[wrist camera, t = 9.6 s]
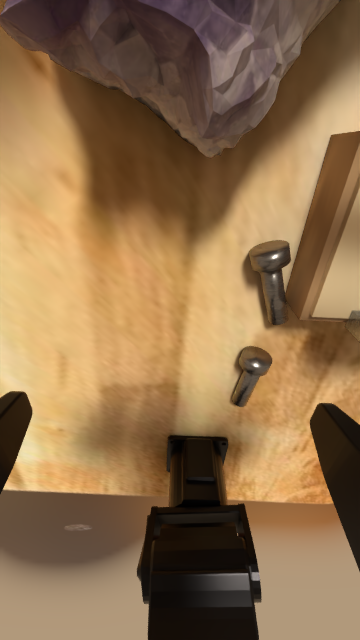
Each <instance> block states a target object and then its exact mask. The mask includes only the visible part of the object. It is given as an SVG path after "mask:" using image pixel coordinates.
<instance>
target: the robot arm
mask: <svg viewBox="0 0 360 640" xmlns="http://www.w3.org/2000/svg"><path fill="white" fill-rule="evenodd" d="M31 417H32V407H31V405H30V402H29V399H28V397H27V394H26V393H25V392H21V391H11V392H9V393H7V394H5V395H4V396H2V397H1V398H0V494H1V492H2V490H3V488H4V486H5V483H6V481H7V479H8V477H9V475H10V473H11V471H12V469H13V466H14V464H15V461H16V459H17V456H18V453H19V450H20V448H21V445H22V442H23V439H24V437H25V434H26V431H27V428H28V426H29V423H30V420H31ZM310 428H311V432H312V435H313V439H314V443H315V446H316V450H317V454H318V457H319V461H320V465H321V469H322V472H323V475H324V478H325V481H326V484H327V487H328V489H329V492H330V495H331V497H332V500H333V502H334V505H335V508H336V510H337V513H338V516H339V518H340V521H341V523H342V526H343V529H344V531H345V534H346V537H347V539H348V542H349V544H350V547H351V550H352V552H353V555H354V558H355V560H356V563H357V565H358V568H359V571H360V425H359V424H358V423H357V422H355V421H354V420H353V419H352V418H351V417H349V416H348V415H347V414H346V413H344V412H343V411H342V410H341V409H339V408H338V407H337V406H336V405H334V404H331V403H319V404H318V405H317V407H316V409H315V411H314V413H313V415H312V417H311V419H310ZM227 448H228V439H227V438H220V437H193V436H169V437H168V447H167V472H170V488H169V507H157V506H154V507H152V508H151V514H150V515H148V516H147V526H146V534H145V541H144V544H143V548H142V552H141V556H140V560H139V564H138V568H137V576H138V578H139V580H140V581H141V586H142V596H143V602H144V604H149V617H148V640H259V635H258V627H257V621H256V612H255V605H254V603H256V602H257V603H258V602H261V586H260V577H259V570H258V564H257V559H256V554H255V549H254V544H253V541H252V536H251V531H250V527H249V523H248V518H247V514H246V510H245V505H244V503H243V504H238V505H228V502H227V494H226V486H225V479H224V471H223V464H224V460H225V456H226V452H227ZM237 533H238V536H237Z"/></svg>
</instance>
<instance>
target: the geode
mask: <svg viewBox="0 0 360 640" xmlns="http://www.w3.org/2000/svg"><path fill="white" fill-rule="evenodd" d="M339 1H340V0H7V1H6V3H5V6H4V9H3V11H2V13H1V15H0V25H1V26H2V27H3V29H4V30H5V31H6V32H7V34H8V35H10V36H11V37H12V38H13V39H14V40H15V41H17V42H18V43H19V44H20V45H21V46H23V47H24V48H25V49H28V50H31V51H42V52H44V53H47V54H48V55H49V57H50V59H51V60H53V61H55V62H56V63H58V64H60V65H61V66H63V67H65V68H66V69H68V70H70V71H74V72H76V73H78V74H80V75H82V76H84V77H86V78H89V79H91V80H93V81H95V82H97V83H99V84H101V85H103V86H105V87H107V88H109V89H119V90H121V91H122V92H124V93H126V94H127V95H129V96H131V97H132V98H134V99H136V100H138V101H140V102H141V103H143V104H145V105H146V106H147V107H149V108H150V109H151V110H152V111H153V112H154V113H155V114H156V115H157V116H158V117H160V118H161V119H162V120H164V121H165V122H166V123H167V124H168V125H169V126H170V127H171V128H172V129H173V130H174V131H175V132H176V133H177V134H178V135H179V136H180V137H182V138H183V139H184V140H185V141H187V142H188V143H190V144H192V145H194V146H196V147H197V148H198V150H199V151H200V152H201V153H203V154H204V155H205V156H206V157H209V158H212V157H213V156H215V155H219V156H221V154H222V152H223V149H224V148H234V147H235V145H236V144H237V143H238V141H239V140H240V138H241V137H242V135H244V134H246V133H247V132H249V131H251V130H252V129H254V128H255V127H256V126H257V125H258V124H259V123H260V121H261V120H262V119H263V118H264V117H265V115H266V114H267V112H268V111H269V109H270V108H271V106H272V105H273V103H274V101H275V98H276V94H277V90H278V87H279V83H280V80H281V79H282V78H283V77H284V76H285V74H286V73H287V71H288V70H289V69H290V67H291V66H292V64H293V63H294V62H295V60H296V59H297V58H298V57H299V55H300V51H301V46H302V44H303V42H304V41H305V40H306V39H307V38H308V37H309V35H310V34H311V32H312V31H313V30H314V29H315V28H316V27H317V25H318V24H319V23H320V22H321V21H322V20H323V19H324V18H325V17H326V16H327V15H328V14H329V12H330V11H331V10H332V9H333V8H334V7H335V6H336V5H337V4H338V3H339Z"/></svg>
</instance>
